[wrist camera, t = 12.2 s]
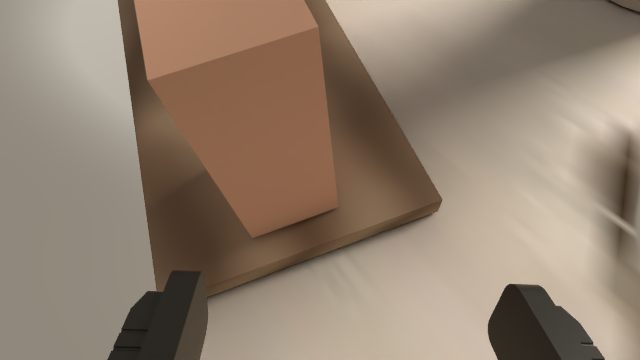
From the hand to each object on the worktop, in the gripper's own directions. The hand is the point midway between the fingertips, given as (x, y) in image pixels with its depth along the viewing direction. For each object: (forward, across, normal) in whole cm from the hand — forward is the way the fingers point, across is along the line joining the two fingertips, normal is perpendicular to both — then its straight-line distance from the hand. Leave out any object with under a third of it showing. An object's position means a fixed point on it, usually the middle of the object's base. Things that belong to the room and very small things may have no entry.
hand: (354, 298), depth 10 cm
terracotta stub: (+12, +2, +4) cm, 13 cm away
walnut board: (+23, +6, +1) cm, 24 cm away
